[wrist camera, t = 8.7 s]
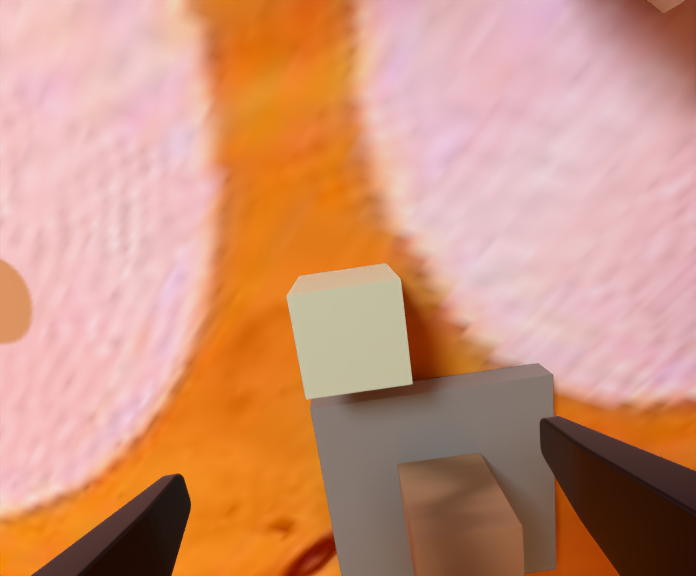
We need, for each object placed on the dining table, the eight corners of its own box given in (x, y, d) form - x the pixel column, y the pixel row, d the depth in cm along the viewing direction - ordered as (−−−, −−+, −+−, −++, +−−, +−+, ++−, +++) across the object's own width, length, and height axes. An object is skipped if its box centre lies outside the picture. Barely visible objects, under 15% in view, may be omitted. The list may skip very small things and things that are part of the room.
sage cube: (385, 263, 20) (401, 279, 15) (395, 344, 21) (412, 384, 16) (299, 275, 20) (286, 295, 15) (313, 356, 21) (305, 399, 16)
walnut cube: (479, 452, 21) (522, 526, 16) (484, 521, 22) (526, 610, 17) (396, 463, 21) (414, 541, 16) (405, 531, 22) (424, 623, 17)
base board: (538, 363, 21) (552, 374, 20) (543, 547, 24) (556, 569, 23) (312, 395, 21) (310, 409, 20) (345, 574, 24) (345, 597, 23)
